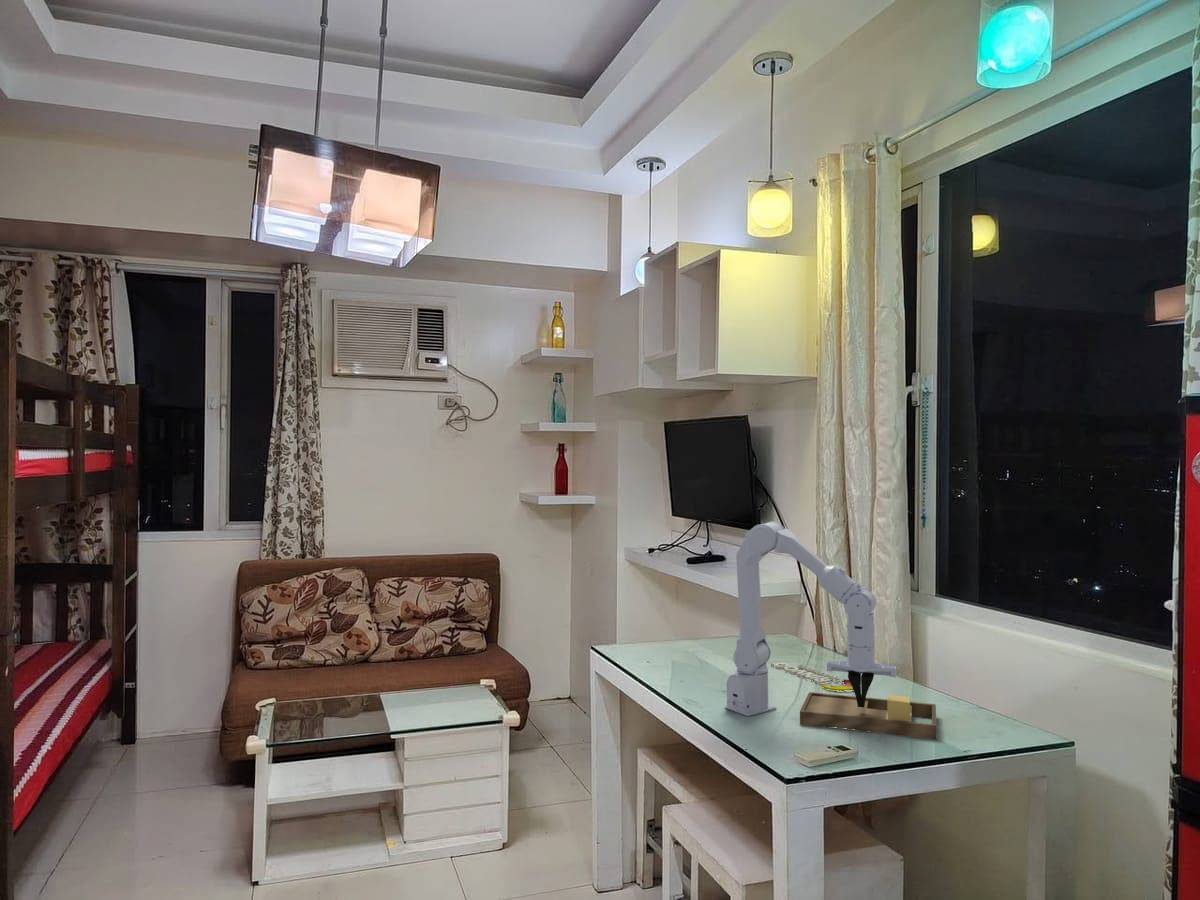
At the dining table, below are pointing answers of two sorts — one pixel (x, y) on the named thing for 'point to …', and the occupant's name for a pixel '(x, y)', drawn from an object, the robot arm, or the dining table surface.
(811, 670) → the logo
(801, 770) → the dining table surface
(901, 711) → the block
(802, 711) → the tray
